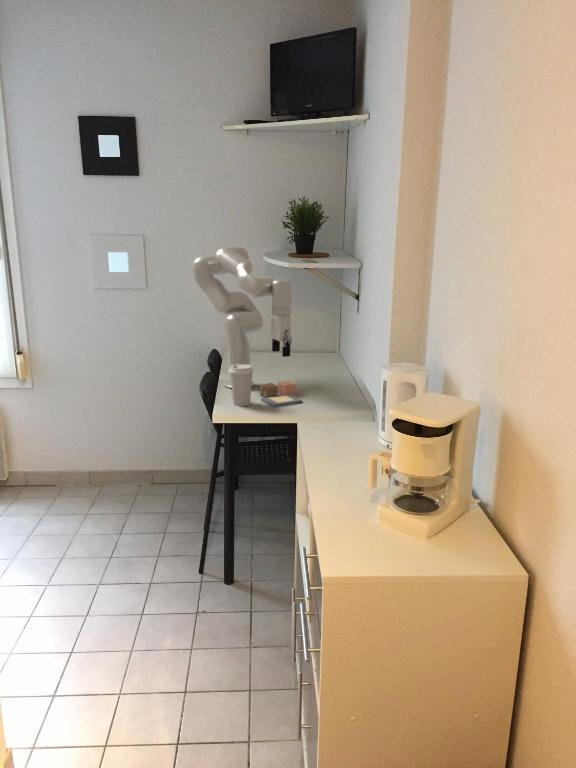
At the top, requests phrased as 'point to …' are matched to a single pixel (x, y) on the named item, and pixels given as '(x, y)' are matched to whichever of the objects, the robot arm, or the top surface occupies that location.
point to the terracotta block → (286, 388)
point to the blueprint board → (281, 400)
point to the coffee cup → (241, 383)
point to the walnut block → (268, 390)
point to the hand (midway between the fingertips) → (281, 353)
